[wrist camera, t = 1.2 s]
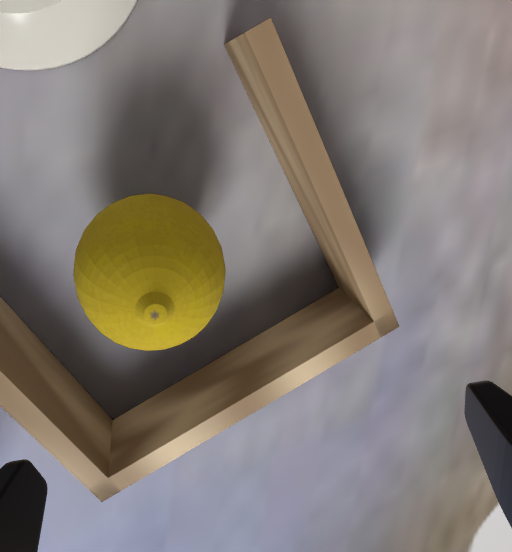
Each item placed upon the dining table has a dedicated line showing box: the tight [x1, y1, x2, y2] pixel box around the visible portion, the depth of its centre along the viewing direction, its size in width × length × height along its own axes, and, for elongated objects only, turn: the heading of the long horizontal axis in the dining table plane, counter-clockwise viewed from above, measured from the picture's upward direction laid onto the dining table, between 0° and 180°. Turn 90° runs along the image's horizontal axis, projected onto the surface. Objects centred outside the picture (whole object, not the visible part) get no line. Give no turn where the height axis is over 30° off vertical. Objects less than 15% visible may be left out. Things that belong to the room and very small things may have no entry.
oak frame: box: [0, 18, 399, 502], centre depth 20 cm, size 16×14×4 cm
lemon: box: [73, 194, 225, 351], centre depth 17 cm, size 6×6×8 cm
